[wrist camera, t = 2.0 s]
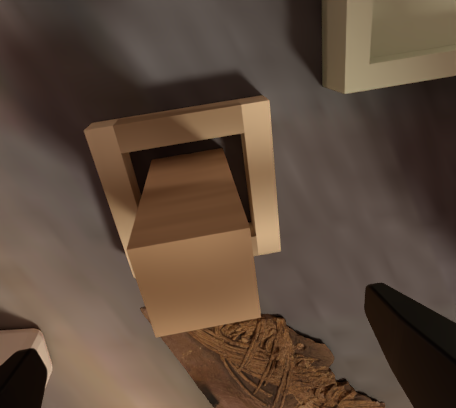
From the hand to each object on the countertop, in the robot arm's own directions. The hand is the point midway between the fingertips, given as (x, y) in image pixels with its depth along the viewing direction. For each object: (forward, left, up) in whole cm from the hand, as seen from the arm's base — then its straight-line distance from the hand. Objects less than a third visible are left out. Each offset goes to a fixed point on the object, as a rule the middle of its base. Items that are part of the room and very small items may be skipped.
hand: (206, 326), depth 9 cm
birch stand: (0, 0, -10) cm, 10 cm away
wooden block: (0, 0, -10) cm, 10 cm away
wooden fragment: (-18, -3, -10) cm, 21 cm away
